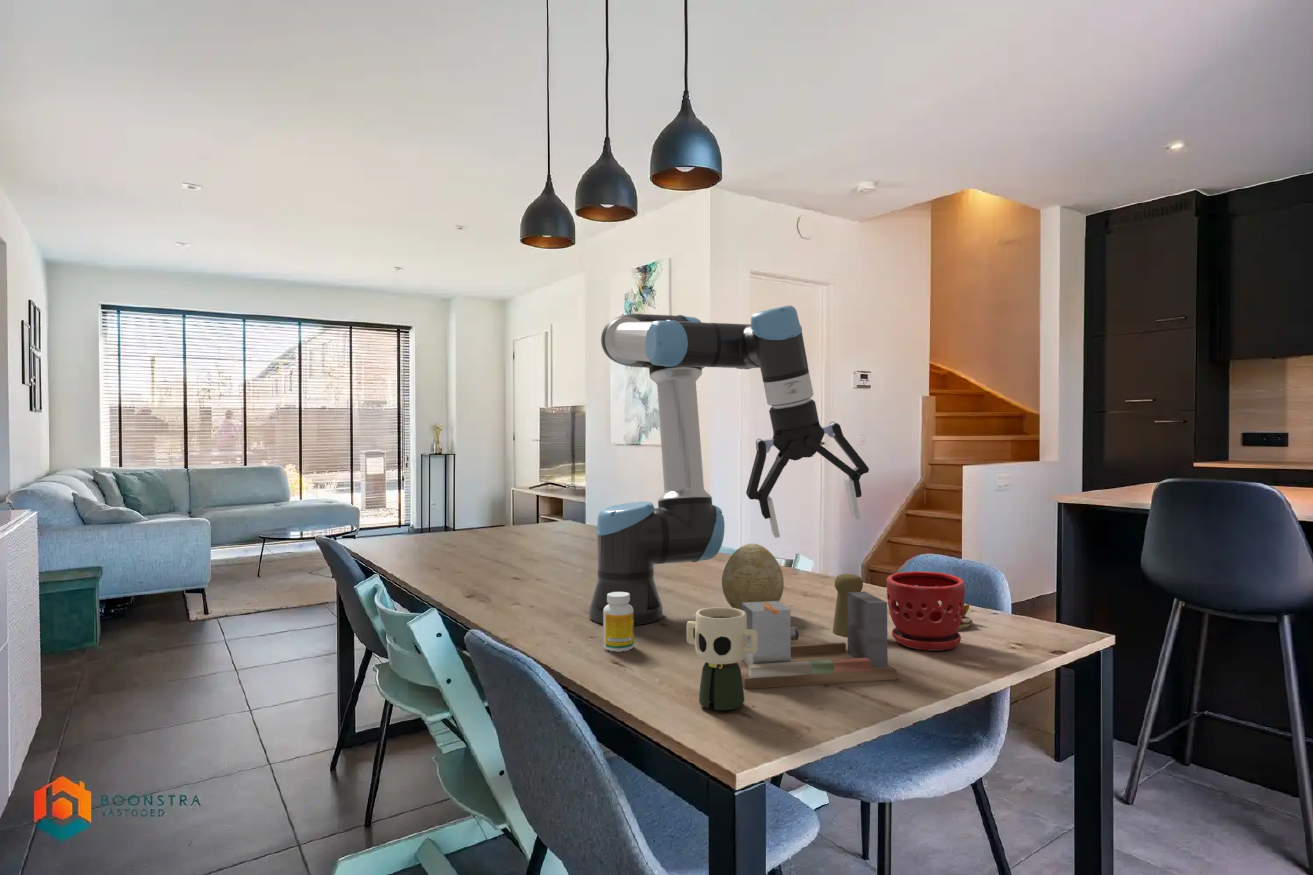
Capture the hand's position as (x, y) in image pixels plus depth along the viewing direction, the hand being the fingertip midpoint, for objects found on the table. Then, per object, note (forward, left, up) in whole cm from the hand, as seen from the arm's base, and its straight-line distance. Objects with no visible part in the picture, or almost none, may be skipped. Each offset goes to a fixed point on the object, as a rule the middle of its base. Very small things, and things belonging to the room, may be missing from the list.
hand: (815, 526), depth 124 cm
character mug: (+18, -21, -22) cm, 35 cm away
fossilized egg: (-31, -2, -22) cm, 38 cm away
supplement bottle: (-13, -32, -22) cm, 41 cm away
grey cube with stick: (+8, -10, -20) cm, 24 cm away
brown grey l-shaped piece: (+6, -4, -22) cm, 23 cm away
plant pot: (-5, +22, -22) cm, 32 cm away
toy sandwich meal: (-18, +32, -23) cm, 43 cm away
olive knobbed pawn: (-15, +12, -22) cm, 29 cm away
